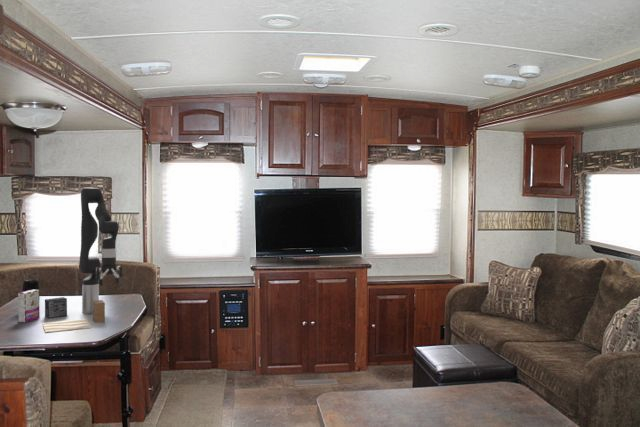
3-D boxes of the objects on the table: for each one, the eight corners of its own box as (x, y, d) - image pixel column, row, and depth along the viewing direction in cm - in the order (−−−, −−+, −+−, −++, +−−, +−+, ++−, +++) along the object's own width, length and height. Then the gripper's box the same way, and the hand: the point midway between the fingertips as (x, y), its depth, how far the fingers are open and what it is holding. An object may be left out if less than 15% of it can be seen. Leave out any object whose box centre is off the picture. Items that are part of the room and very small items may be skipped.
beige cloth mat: (42, 324, 292) (42, 323, 292) (86, 320, 303) (86, 319, 303) (45, 332, 274) (45, 331, 274) (91, 328, 286) (91, 327, 286)
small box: (63, 314, 316) (63, 296, 316) (67, 316, 312) (67, 298, 311) (44, 316, 309) (44, 298, 309) (48, 318, 304) (48, 300, 304)
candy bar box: (32, 317, 307) (32, 289, 306) (39, 318, 306) (39, 289, 305) (17, 322, 296) (17, 292, 295) (25, 322, 295) (25, 293, 294)
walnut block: (93, 320, 304) (93, 300, 303) (102, 319, 306) (102, 300, 306) (95, 323, 297) (95, 303, 297) (104, 322, 300) (104, 302, 299)
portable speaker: (35, 313, 317) (35, 280, 317) (19, 313, 317) (19, 280, 316) (42, 309, 326) (42, 278, 325) (26, 309, 325) (26, 278, 324)
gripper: (119, 255, 308) (118, 283, 309) (93, 256, 299) (93, 285, 299) (123, 256, 303) (123, 284, 303) (98, 257, 293) (98, 287, 294)
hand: (108, 285), depth 301 cm, fingers open, 8 cm apart
